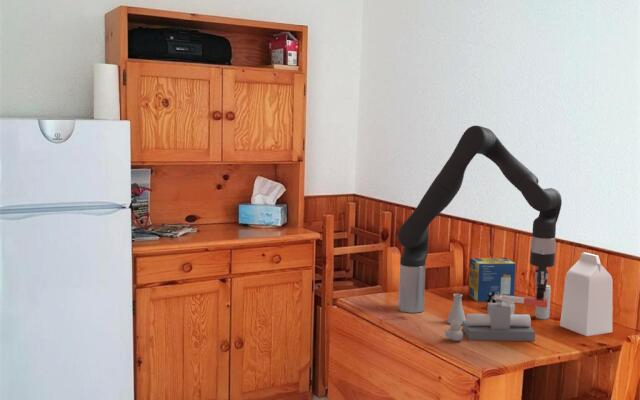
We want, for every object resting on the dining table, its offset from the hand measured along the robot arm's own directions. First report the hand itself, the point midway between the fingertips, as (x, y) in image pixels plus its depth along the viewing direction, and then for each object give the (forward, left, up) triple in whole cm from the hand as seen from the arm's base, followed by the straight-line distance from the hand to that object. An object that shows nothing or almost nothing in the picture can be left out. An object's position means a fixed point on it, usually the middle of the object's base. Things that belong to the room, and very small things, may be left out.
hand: (539, 302), depth 212 cm
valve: (-4, +28, -12) cm, 31 cm away
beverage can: (+8, +22, -12) cm, 26 cm away
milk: (+19, +10, -12) cm, 25 cm away
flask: (-24, +15, -12) cm, 30 cm away
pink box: (-6, -1, 0) cm, 7 cm away
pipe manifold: (-13, +2, -12) cm, 17 cm away
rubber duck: (-28, -4, -12) cm, 31 cm away
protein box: (-4, +48, -12) cm, 49 cm away
